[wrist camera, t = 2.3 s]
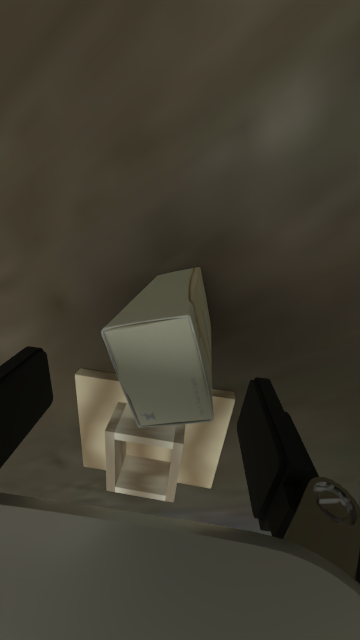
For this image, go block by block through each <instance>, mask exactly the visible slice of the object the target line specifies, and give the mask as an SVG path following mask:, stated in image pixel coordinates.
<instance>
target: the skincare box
mask: <svg viewBox="0 0 360 640" xmlns="http://www.w3.org/2000/svg"><path fill="white" fill-rule="evenodd" d="M101 334H102V337H103V340H104V342H105V345H106V348H107V350H108V353H109V356H110V358H111V361H112V364H113V366H114V369H115V371H116V374H117V377H118V380H119V382H120V385H121V387H122V390H123V392H124V394H125V397H126V399H127V402H128V404H129V406H130V409H131V411H132V414H133V416H134V418H135V421H136V424H137V426H138V427H139V428H143V427H157V426H169V425H181V424H192V423H203V422H211V421H213V418H214V416H213V397H212V359H211V323H210V317H209V311H208V305H207V299H206V294H205V289H204V284H203V279H202V274H201V269H200V267H196V268H191V269H185V270H180V271H175V272H170V273H165V274H161V275H158V276H156V277H155V278H154V279H153V280H152V281H151V282H150V283H149V284H148V285H147V286H146V287H145V288H144V289H143V290H142V291H141V292H140V293H139V294H138V295H137V296H136V297H135V298H134V299H133V300H132V301H131V302H130V303H129V304H128V305H127V306H126V307H125V308H124V309H123V310H122V311H121V312H120V313H119V314H118V315H117V316H116V317H114V318H113V319H112V320H111V321H110V322H109V323H108V324H107V325H106V326H105V327H104V328H103V329H102V331H101Z"/></svg>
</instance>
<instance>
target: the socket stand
mask: <svg viewBox="0 0 360 640" xmlns="http://www.w3.org/2000/svg"><path fill="white" fill-rule="evenodd" d="M75 381H76V392H77V402H78V412H79V422H80V433H81V443H82V453H83V463H84V466H85V467H91V468H97V469H102V470H106V482H107V491H112V492H118V493H124V494H129V495H135V496H140V497H146V498H152V499H157V500H163V501H168V502H174V497H175V491H176V485H177V483H183V484H188V485H194V486H200V487H206V488H211V486H212V482H213V479H214V475H215V472H216V468H217V464H218V461H219V457H220V454H221V450H222V446H223V443H224V439H225V435H226V432H227V428H228V425H229V421H230V417H231V414H232V410H233V407H234V403H235V394H234V392H231V391H224V390H218V389H212V397H213V416H214V418H213V421H211V422H203V423H192V424H181V425H169V426H157V427H143V428H139V427H138V426H137V424H136V421H135V418H134V416H133V414H132V411H131V409H130V406H129V404H128V402H127V399H126V397H125V394H124V392H123V390H122V387H121V385H120V382H119V380H118V377H117V374H114V373H108V372H101V371H95V370H89V369H82V368H80V369H79V370H78V371H77V373H76V374H75Z"/></svg>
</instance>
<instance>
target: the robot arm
mask: <svg viewBox="0 0 360 640" xmlns="http://www.w3.org/2000/svg"><path fill="white" fill-rule="evenodd" d="M52 401H53V393H52V386H51V380H50V373H49V366H48V360H47V354H46V352H44V351H43V349H42V348H37V347H26V348H24V349H23V350H21V351H20V352H19V353H17V354H16V355H15V356H13V357H12V358H11V359H9V360H8V361H7V362H5V363H4V364H2V365H1V366H0V468H1V467H2V466H3V464H4V463H5V462H6V460H7V459H8V458H9V457H10V455H11V454H12V453H13V452H14V450H15V449H16V448H17V447H18V445H19V444H20V443H21V442H22V440H23V439H24V438H25V437H26V435H27V434H28V433H29V432H30V430H31V429H32V428H33V427H34V425H35V424H36V423H37V422H38V420H39V419H40V418H41V417H42V415H43V414H44V413H45V412H46V410H47V409H48V408H49V407H50V405H51V403H52ZM237 432H238V438H239V443H240V448H241V453H242V459H243V464H244V469H245V475H246V480H247V485H248V490H249V496H250V501H251V506H252V511H253V515H254V517H255V518H258V519H259V524H260V529H261V530H264V531H271V534H272V536H269V535H265V534H260V533H256V532H252V531H246V530H241V529H235V528H229V527H223V526H218V525H212V524H206V523H200V522H194V521H187V520H181V519H174V518H168V517H161V516H155V515H148V514H142V513H135V512H129V511H122V510H116V509H109V508H102V507H95V506H89V505H82V504H75V503H68V502H62V501H55V500H48V499H41V498H34V497H27V496H20V495H13V494H6V493H0V640H360V507H359V505H358V504H357V502H356V500H355V499H354V498H353V497H352V496H351V494H350V493H349V492H348V491H347V490H346V489H344V488H343V487H342V486H341V485H340V484H338V483H336V482H334V481H333V480H331V479H328V478H325V477H319V476H318V474H317V472H316V469H315V467H314V465H313V463H312V461H311V459H310V457H309V455H308V453H307V450H306V448H305V446H304V444H303V442H302V440H301V438H300V436H299V434H298V432H297V429H296V427H295V425H294V423H293V421H292V419H291V417H290V415H289V414H288V413H287V412H284V410H283V408H282V405H281V403H280V401H279V399H278V397H277V394H276V392H275V390H274V388H273V386H272V384H271V381H270V380H269V379H266V378H258V377H256V378H255V379H254V380H250V383H249V386H248V389H247V393H246V396H245V399H244V403H243V406H242V409H241V413H240V416H239V420H238V423H237Z"/></svg>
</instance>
